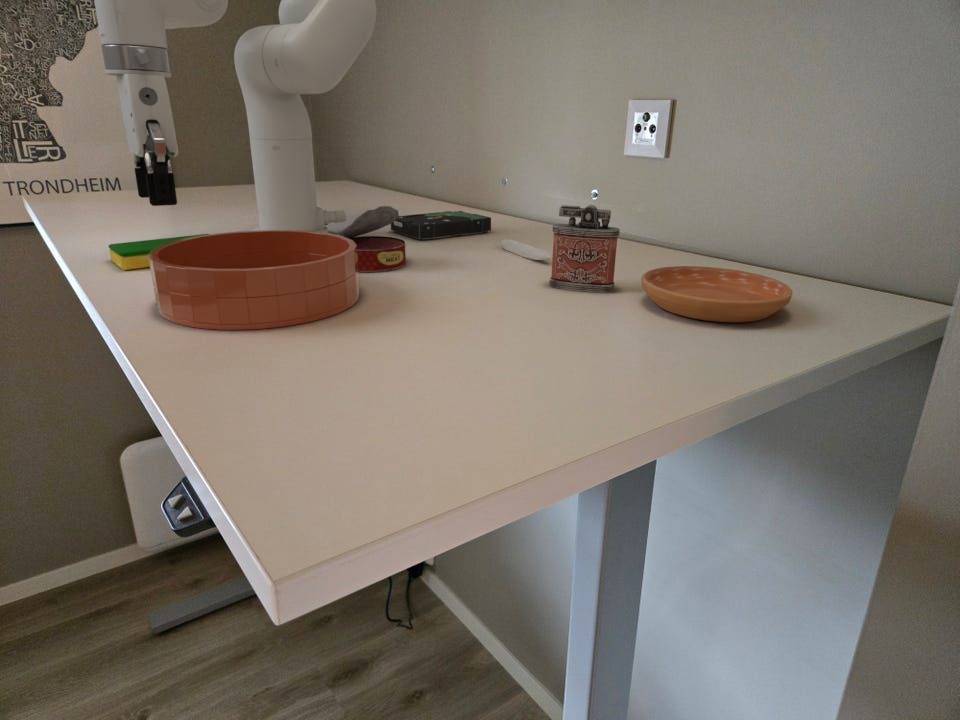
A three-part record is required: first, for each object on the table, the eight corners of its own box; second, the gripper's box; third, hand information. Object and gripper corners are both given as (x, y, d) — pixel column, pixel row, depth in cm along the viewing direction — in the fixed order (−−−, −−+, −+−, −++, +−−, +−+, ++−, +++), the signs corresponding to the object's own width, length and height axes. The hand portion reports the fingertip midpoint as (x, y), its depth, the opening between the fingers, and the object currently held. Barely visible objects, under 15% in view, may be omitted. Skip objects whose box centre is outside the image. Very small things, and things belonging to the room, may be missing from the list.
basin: (319, 268, 88) (315, 224, 86) (390, 308, 71) (388, 254, 69) (143, 291, 77) (134, 240, 75) (180, 344, 60) (170, 281, 58)
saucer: (738, 286, 82) (742, 263, 81) (820, 325, 68) (826, 298, 67) (618, 290, 80) (620, 266, 79) (676, 332, 65) (680, 303, 64)
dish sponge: (228, 257, 94) (226, 240, 93) (123, 271, 86) (120, 252, 85) (211, 249, 99) (209, 233, 98) (111, 261, 91) (107, 244, 90)
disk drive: (420, 242, 107) (492, 232, 115) (420, 225, 106) (492, 216, 114) (389, 232, 114) (458, 223, 123) (388, 216, 113) (458, 208, 122)
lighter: (615, 287, 81) (623, 205, 77) (611, 294, 78) (619, 209, 75) (552, 281, 84) (557, 201, 80) (546, 287, 81) (550, 205, 77)
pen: (545, 266, 91) (546, 254, 91) (498, 247, 103) (498, 237, 102) (554, 265, 92) (555, 253, 91) (507, 246, 103) (507, 236, 103)
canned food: (353, 304, 88) (313, 243, 83) (351, 278, 97) (314, 221, 92) (426, 265, 88) (390, 200, 83) (417, 242, 97) (384, 183, 92)
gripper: (182, 62, 78) (200, 207, 84) (158, 68, 92) (174, 193, 98) (112, 58, 74) (136, 210, 80) (97, 65, 88) (118, 195, 94)
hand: (157, 200), depth 89 cm, fingers open, 9 cm apart
